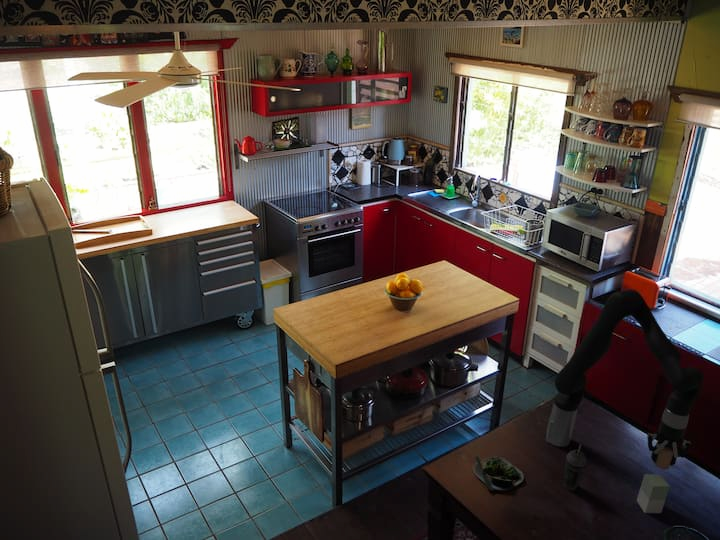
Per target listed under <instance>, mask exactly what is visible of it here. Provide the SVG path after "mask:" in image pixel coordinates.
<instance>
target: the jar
mask: <svg viewBox="0 0 720 540" xmlns="http://www.w3.org/2000/svg"><path fill="white" fill-rule="evenodd" d="M672 457H673V449H670V448H668V447H663V449H662V450H660V451H659V452H658V456H657V460H656V462H653V464H654V465H655V466H656V467H657V468H658V469H661V470H669V469H670V467H671V466H670V463H671V460H672Z"/></svg>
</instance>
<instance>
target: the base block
mask: <svg viewBox="0 0 720 540" xmlns="http://www.w3.org/2000/svg"><path fill="white" fill-rule="evenodd" d="M636 502H637V504H638V505H639V507H640V508H641V509H642V511H643V512H644V514H661V513H662V512H663V508H664V505H665V502H666V500H649V499H648V498H647V496H646V495H645V493H644V492H643V490H642V489H641V487H639V492H638V495H637V499H636Z"/></svg>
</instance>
